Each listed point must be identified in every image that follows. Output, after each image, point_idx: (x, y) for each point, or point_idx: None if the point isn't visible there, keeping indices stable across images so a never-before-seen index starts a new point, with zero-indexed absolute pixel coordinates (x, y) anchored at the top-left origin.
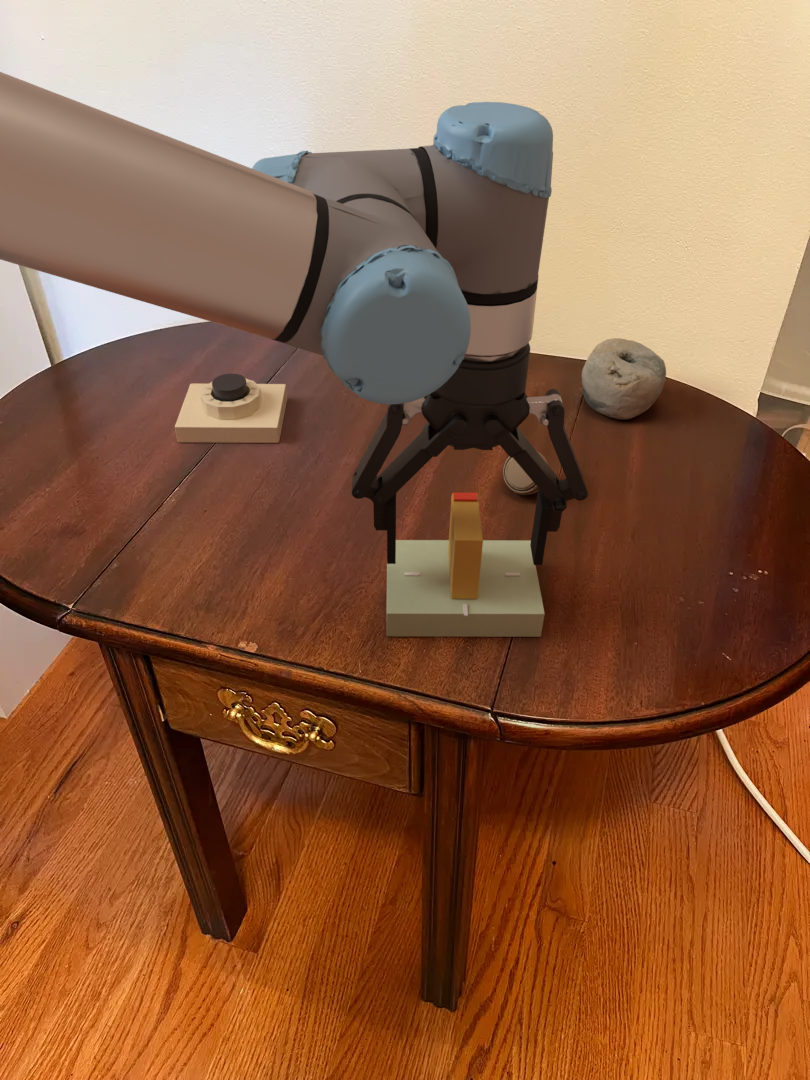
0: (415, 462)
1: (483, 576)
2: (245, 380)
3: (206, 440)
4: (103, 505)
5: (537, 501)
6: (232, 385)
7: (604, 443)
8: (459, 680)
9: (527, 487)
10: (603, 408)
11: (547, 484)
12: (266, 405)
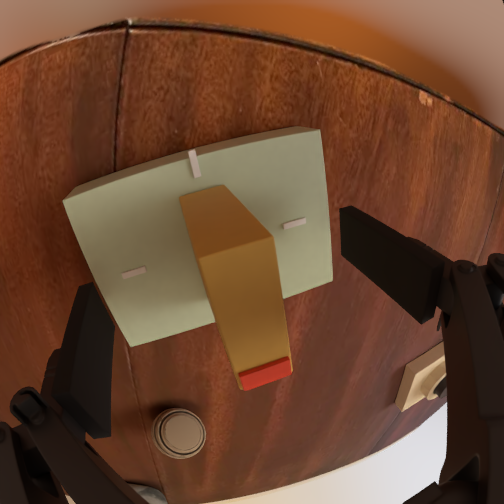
0: (496, 372)
1: (179, 253)
2: (440, 396)
3: None
4: (499, 248)
5: (105, 407)
6: None
7: (123, 466)
8: (180, 65)
9: (169, 417)
10: (139, 490)
11: (61, 462)
12: (417, 388)
